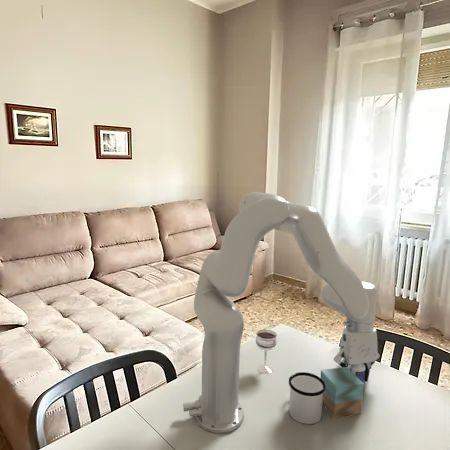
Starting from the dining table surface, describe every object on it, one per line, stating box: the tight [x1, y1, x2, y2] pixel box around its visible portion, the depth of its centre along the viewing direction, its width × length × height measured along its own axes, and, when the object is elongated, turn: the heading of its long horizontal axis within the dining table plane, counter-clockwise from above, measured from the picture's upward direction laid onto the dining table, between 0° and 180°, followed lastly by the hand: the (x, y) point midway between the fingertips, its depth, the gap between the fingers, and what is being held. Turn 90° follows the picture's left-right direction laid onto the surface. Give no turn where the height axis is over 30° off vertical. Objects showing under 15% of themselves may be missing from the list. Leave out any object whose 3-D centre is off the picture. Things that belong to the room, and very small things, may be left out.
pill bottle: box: [350, 364, 365, 384], centre depth 105 cm, size 5×5×9 cm
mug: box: [288, 371, 326, 425], centre depth 93 cm, size 12×10×9 cm
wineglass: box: [255, 329, 278, 374], centre depth 112 cm, size 7×7×12 cm
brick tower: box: [319, 366, 365, 419], centre depth 95 cm, size 8×8×9 cm
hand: (354, 379), depth 105 cm, fingers closed on pill bottle, 5 cm apart
